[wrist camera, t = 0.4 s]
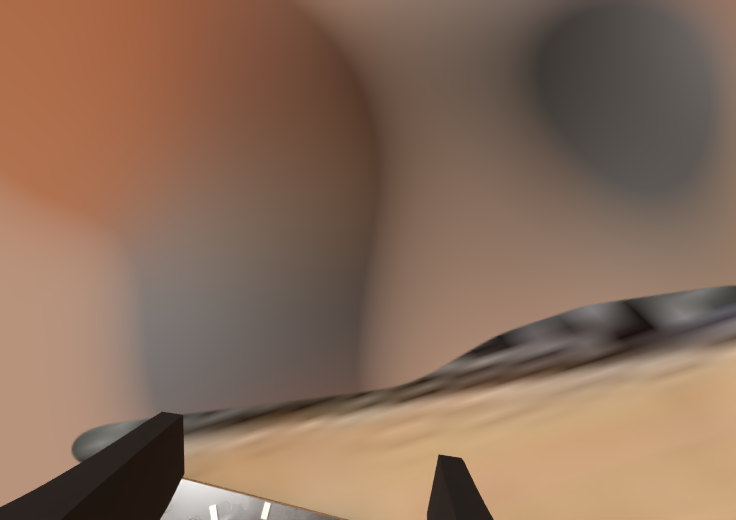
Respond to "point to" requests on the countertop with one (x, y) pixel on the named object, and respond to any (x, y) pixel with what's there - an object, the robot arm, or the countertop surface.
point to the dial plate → (230, 505)
